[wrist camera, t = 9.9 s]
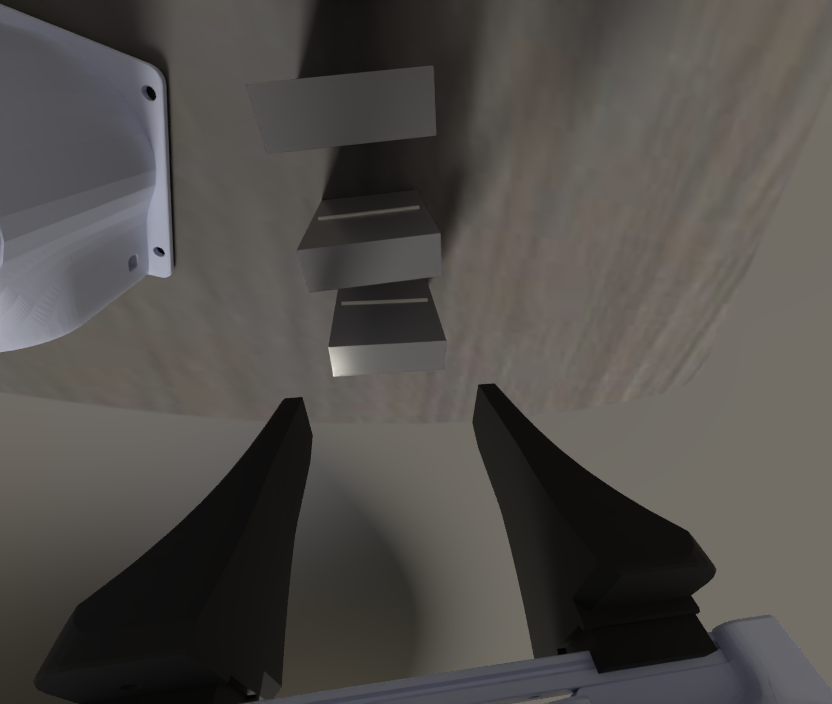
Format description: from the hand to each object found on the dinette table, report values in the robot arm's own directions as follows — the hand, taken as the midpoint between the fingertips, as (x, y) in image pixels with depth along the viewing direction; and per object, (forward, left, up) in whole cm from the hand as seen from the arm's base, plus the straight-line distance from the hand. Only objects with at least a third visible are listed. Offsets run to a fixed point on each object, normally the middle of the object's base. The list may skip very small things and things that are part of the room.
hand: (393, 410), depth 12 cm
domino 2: (+4, +2, -10) cm, 11 cm away
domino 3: (0, 0, -10) cm, 10 cm away
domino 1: (+8, +4, -10) cm, 14 cm away
